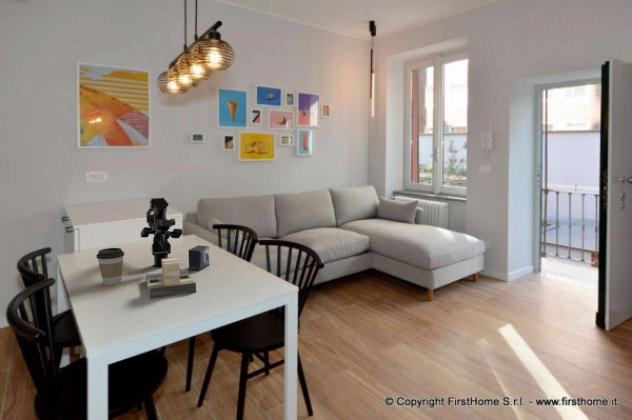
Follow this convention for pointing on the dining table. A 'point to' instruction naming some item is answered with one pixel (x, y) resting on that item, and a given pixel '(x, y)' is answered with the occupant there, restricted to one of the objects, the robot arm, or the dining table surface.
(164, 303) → the dining table surface
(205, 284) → the dining table surface
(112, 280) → the coffee cup
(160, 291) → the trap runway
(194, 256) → the small box
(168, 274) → the birch block
